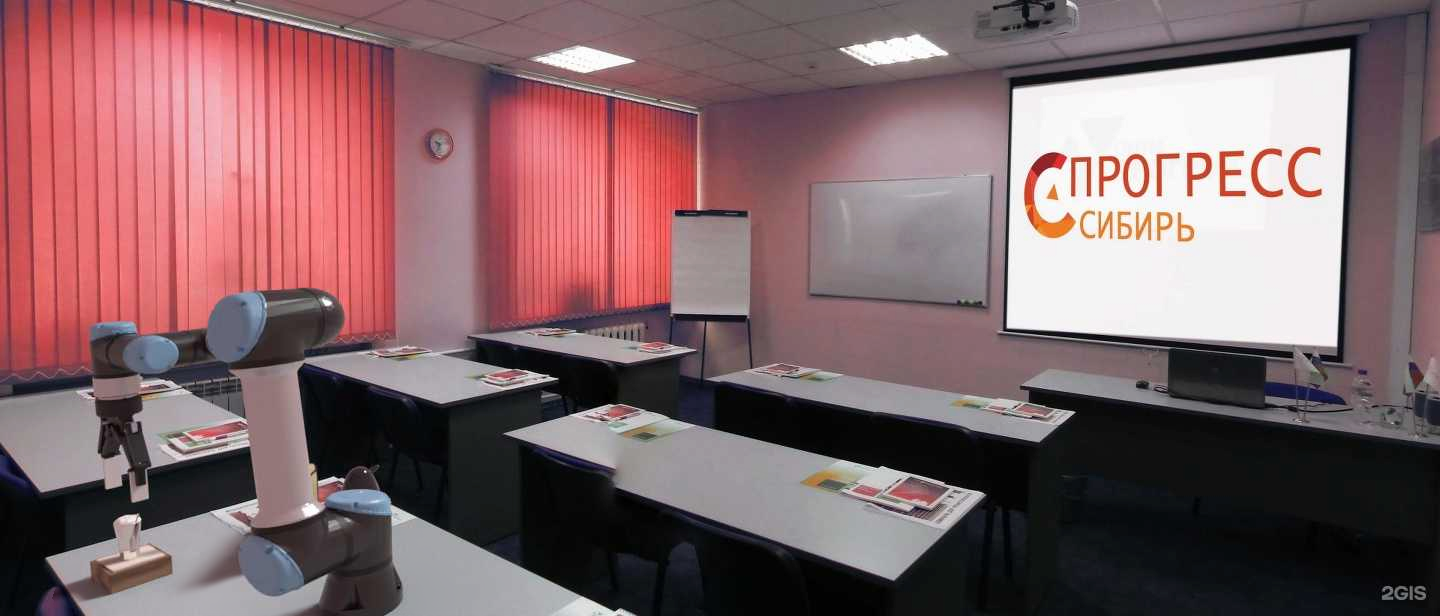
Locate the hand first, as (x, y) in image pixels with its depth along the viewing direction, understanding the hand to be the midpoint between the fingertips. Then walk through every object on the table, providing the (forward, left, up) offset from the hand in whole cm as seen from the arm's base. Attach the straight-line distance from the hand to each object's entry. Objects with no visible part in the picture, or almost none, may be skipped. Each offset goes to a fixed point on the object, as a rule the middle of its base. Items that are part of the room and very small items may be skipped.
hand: (126, 493), depth 150 cm
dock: (0, 0, -19) cm, 19 cm away
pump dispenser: (-15, -42, -19) cm, 49 cm away
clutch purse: (-9, -27, -19) cm, 34 cm away
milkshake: (0, 0, -14) cm, 14 cm away
